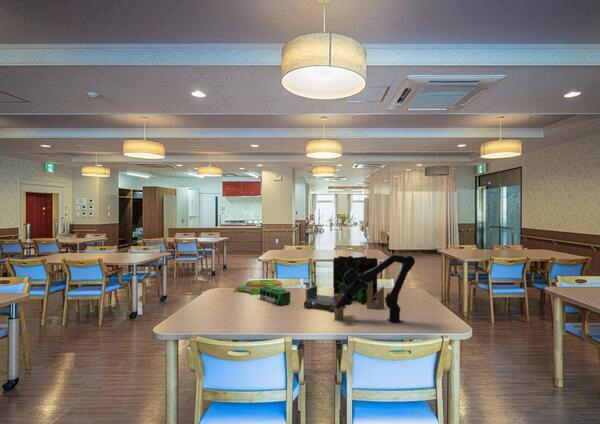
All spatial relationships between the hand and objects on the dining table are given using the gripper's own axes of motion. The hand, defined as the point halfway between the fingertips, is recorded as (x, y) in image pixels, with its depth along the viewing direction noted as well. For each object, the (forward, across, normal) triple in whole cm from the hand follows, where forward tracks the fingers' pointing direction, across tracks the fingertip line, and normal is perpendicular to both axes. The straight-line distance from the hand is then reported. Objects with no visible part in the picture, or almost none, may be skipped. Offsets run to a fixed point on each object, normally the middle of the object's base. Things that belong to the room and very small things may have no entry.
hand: (336, 306), depth 211 cm
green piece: (+50, -68, -39) cm, 93 cm away
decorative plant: (-2, -51, +13) cm, 52 cm away
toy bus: (+37, -35, -26) cm, 57 cm away
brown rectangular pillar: (+4, 0, +6) cm, 7 cm away
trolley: (+11, -24, -1) cm, 27 cm away
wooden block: (-12, -28, +22) cm, 37 cm away
